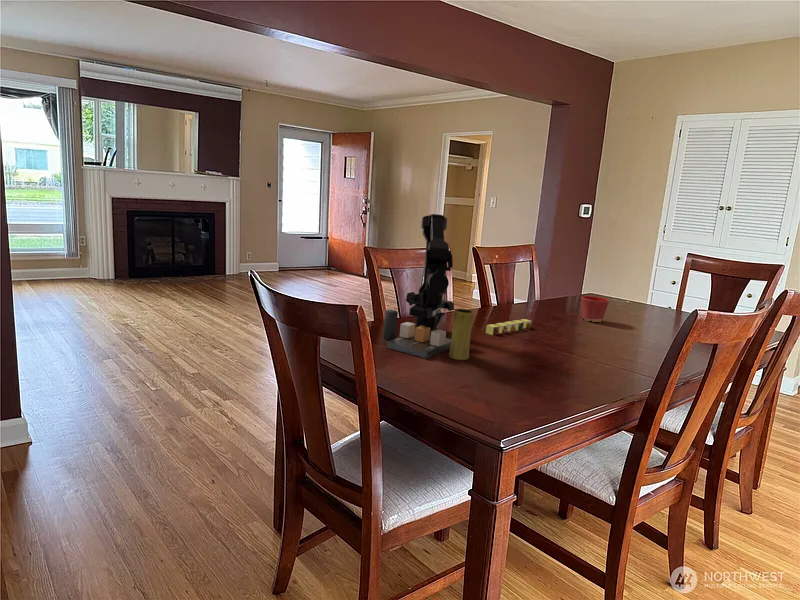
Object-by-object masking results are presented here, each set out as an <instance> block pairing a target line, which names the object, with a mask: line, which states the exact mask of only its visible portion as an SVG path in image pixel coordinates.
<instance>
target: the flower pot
mask: <svg viewBox="0 0 800 600" xmlns="http://www.w3.org/2000/svg"><path fill="white" fill-rule="evenodd" d="M609 303H610V300H609V299H607V298H604V297H598V296H591V295H584V296H581V317H584V318H589V319H602V320H603V318H604V316H605V314H606V311H607V308H608V306H609Z"/></svg>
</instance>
